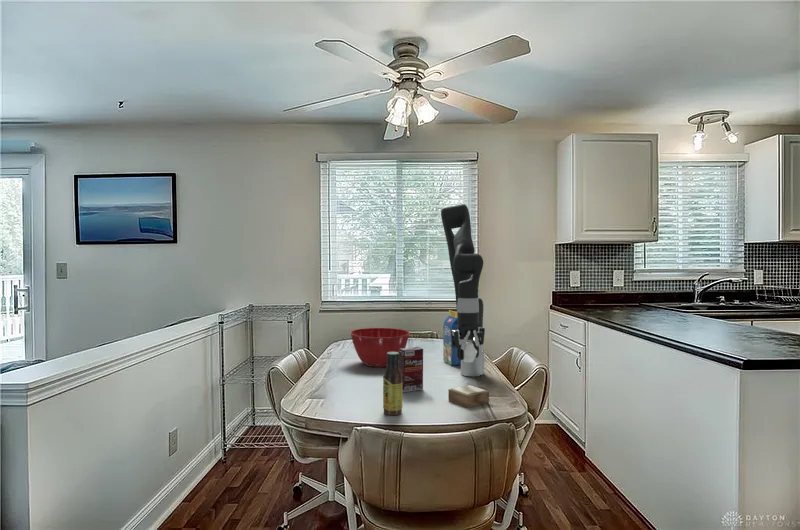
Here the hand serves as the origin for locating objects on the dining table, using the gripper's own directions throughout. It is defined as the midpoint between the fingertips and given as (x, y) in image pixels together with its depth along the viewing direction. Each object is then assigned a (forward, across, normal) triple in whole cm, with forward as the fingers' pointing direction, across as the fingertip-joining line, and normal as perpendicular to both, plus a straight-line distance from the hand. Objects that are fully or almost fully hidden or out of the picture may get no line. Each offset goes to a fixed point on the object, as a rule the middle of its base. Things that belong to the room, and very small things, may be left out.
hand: (468, 358), depth 173 cm
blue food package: (+16, -36, -52) cm, 65 cm away
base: (+15, 0, 0) cm, 15 cm away
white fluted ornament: (+1, 0, 0) cm, 1 cm away
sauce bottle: (+15, +29, -4) cm, 33 cm away
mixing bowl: (+16, -6, -70) cm, 72 cm away
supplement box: (+15, +8, -24) cm, 30 cm away
